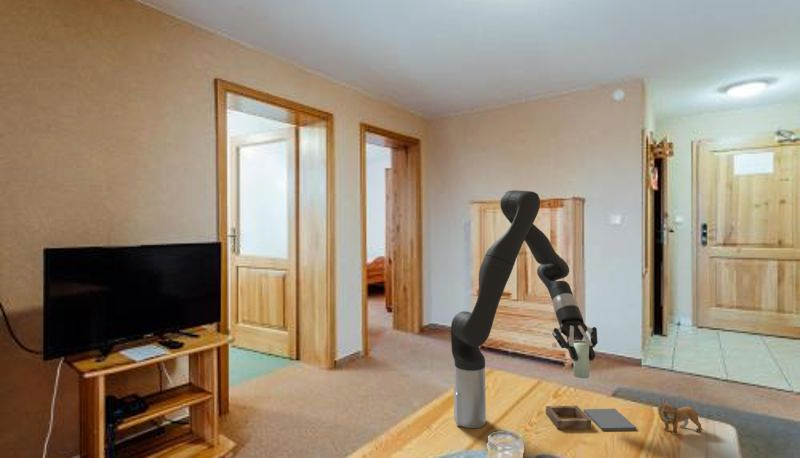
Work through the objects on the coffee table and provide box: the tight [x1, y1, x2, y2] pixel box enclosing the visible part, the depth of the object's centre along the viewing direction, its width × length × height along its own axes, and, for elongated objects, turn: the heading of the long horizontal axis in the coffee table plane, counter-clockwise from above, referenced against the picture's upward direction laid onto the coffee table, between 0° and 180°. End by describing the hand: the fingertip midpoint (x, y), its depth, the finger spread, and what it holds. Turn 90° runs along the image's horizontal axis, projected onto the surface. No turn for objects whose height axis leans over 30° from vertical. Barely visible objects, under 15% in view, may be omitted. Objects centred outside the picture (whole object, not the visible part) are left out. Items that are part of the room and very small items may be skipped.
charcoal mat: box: [582, 408, 637, 432], centre depth 126 cm, size 10×12×1 cm
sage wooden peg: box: [572, 340, 590, 379], centre depth 126 cm, size 4×4×10 cm
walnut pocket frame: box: [545, 405, 592, 431], centre depth 126 cm, size 10×10×2 cm
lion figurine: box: [657, 402, 702, 436], centre depth 119 cm, size 15×5×9 cm, turn 110°
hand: (584, 359), depth 124 cm, fingers closed on sage wooden peg, 4 cm apart
